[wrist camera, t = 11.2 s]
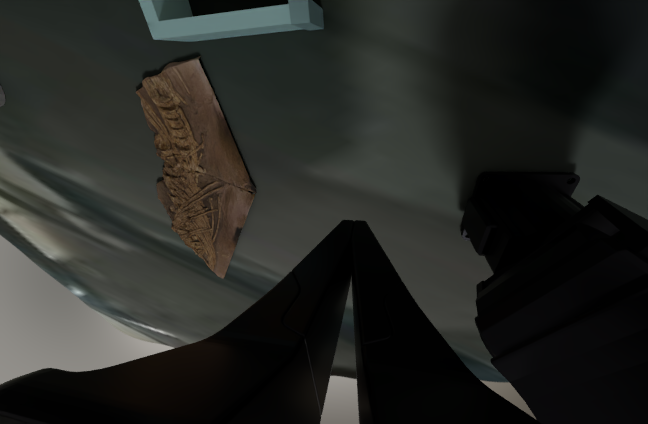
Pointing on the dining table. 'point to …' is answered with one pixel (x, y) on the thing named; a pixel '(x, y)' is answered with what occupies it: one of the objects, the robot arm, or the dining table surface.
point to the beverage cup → (2, 97)
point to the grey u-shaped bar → (227, 20)
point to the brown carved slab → (197, 162)
